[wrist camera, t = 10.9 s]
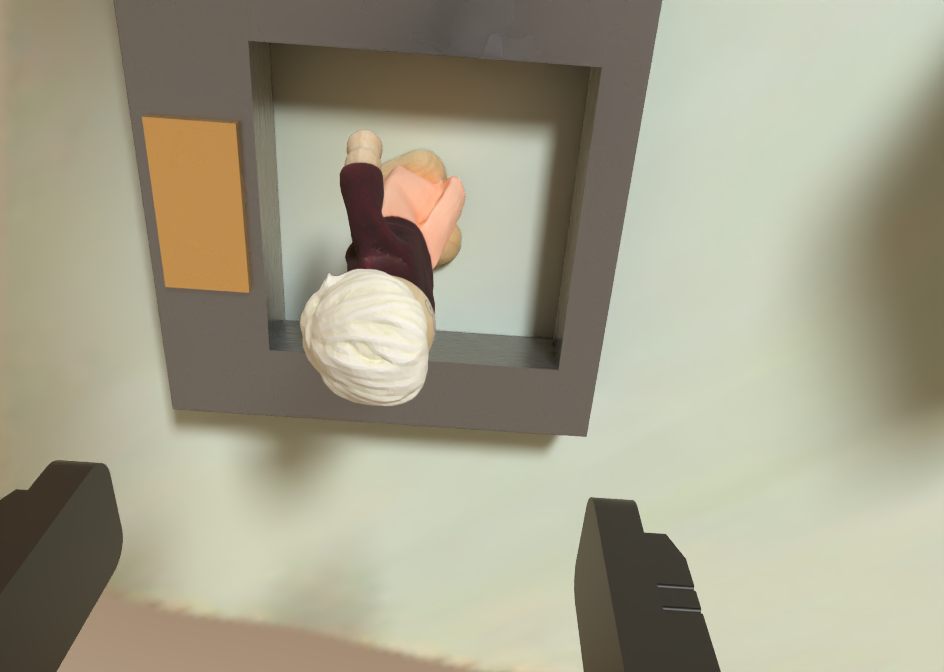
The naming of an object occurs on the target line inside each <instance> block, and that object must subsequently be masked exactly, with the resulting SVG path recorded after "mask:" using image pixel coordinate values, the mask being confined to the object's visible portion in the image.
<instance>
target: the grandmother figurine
mask: <svg viewBox="0 0 944 672" xmlns="http://www.w3.org/2000/svg"><path fill="white" fill-rule="evenodd" d="M347 154H348V156H347V158H346V161H345V166H344V167H343V168H342V170H341V173H340V187H341V193H342V196H343V199H344V203H345V206H346V210H347V214H348V219H349V225H350V230H351V237H352V241H353V242H352V244H351V245H350V246H349V248H348V249H347V252H346V256H345V258H346V262H347V270H348V272H347V273H344V274H342V275H340V276H333V275H331V274H330V273H329V274H327V278H326V279H325V280H324V281H323V283H322V285H321V288H320V289H319V291H317V292H316V293H314V294H313V295H312V296H311V297H310V299H309V300H308V302H307V303H306V305H305V308H304V310H303V312H302V314H301V318H300V327H301V331H302V335H303V348H304V351H305V353H306V356H307V358H308V360H309V361H310V363H311V364H312V365H313V366H314V368H315V369H316V370H317V371H318V372H319V373H320V375H321V377H322V380H323V381H324V383H325V384H326V385H327V386H328V387H329V389H330V390H331V391H333V392H334V393H335V394H337V395H338V396H340V397H342V398H345V399H347V400H350V401H352V402H355V403H360V404H365V405H375V406H395V405H399V404H403V403H405V402H407V401H409V400H412V399H413V398H414V397H415V396H416V395H417V394H418V393H419V391H420V390H421V389H422V387H423V385H424V382H425V379H426V374H427V371H428V355H429V351H430V349H431V346H432V344H433V342H434V338H435V331H436V321H435V315H434V314H435V302H434V297H433V269H434V267H435V266H436V265H437V264H438V265H440V264H445V263H448V262H450V261H451V260H453V259H454V258H455V257H456V256H457V254H458V252H459V250H460V247H461V232H460V229H459V227H458V226H457V224H456V223H457V221H458V219H459V217H460V215H461V212H462V209H463V206H464V201H465V191H464V188H463V185H462V183H461V181H460V179H459V178H457V177H455V176H452V177H450V178H448V179H447V175H446V171H445V168H444V165H443V163H442V161H441V160H440V158H439V157H437V156H436V155H435V154H434V153H432V152H430V151H427V150H414V151H411V152H409V153H406V154H404V155H402V156H400V157H398V158H395V159H393V160H391V161H388V162H386V163H384V164H382V165H381V160H380V158H381V155H382V143H381V140H380V138H379V137H378V136H377V135H376V134H375V133H374V132H372V131H369V130H359V131H356V132H355V133H353V134H352V135H351V136H350V137H349V139H348V143H347Z"/></svg>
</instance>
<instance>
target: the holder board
mask: <svg viewBox="0 0 944 672" xmlns="http://www.w3.org/2000/svg"><path fill="white" fill-rule="evenodd" d="M661 4H662V0H114V6H115V12H116V19H117V26H118V33H119V40H120V47H121V54H122V61H123V68H124V74H125V81H126V88H127V95H128V102H129V109H130V116H131V123H132V130H133V136H134V143H135V150H136V157H137V164H138V171H139V178H140V185H141V192H142V198H143V205H144V212H145V219H146V226H147V233H148V240H149V247H150V254H151V260H152V267H153V274H154V281H155V288H156V295H157V302H158V309H159V316H160V322H161V329H162V336H163V343H164V350H165V357H166V364H167V371H168V378H169V384H170V391H171V398H172V405H173V409H181V410H196V411H211V412H225V413H240V414H255V415H270V416H285V417H300V418H315V419H330V420H345V421H360V422H375V423H389V424H404V425H419V426H434V427H449V428H464V429H479V430H494V431H509V432H524V433H539V434H553V435H568V436H583V437H586V436H587V431H588V425H589V419H590V413H591V408H592V402H593V396H594V390H595V384H596V379H597V373H598V367H599V361H600V356H601V350H602V344H603V338H604V333H605V327H606V321H607V315H608V310H609V304H610V298H611V292H612V286H613V281H614V275H615V269H616V263H617V258H618V252H619V246H620V240H621V235H622V229H623V223H624V217H625V211H626V206H627V200H628V194H629V188H630V183H631V177H632V171H633V165H634V160H635V154H636V148H637V142H638V137H639V131H640V125H641V119H642V113H643V108H644V102H645V96H646V90H647V85H648V79H649V73H650V67H651V62H652V56H653V50H654V44H655V38H656V33H657V27H658V21H659V15H660V10H661ZM270 42H271V43H284V44H297V45H311V46H324V47H337V48H350V49H364V50H377V51H390V52H403V53H417V54H430V55H443V56H456V57H470V58H483V59H496V60H509V61H523V62H536V63H549V64H562V65H576V66H589V67H591V68H590V75H589V82H588V89H587V97H586V104H585V111H584V119H583V126H582V133H581V141H580V148H579V155H578V162H577V170H576V177H575V184H574V192H573V199H572V206H571V213H570V221H569V228H568V235H567V243H566V250H565V257H564V264H563V272H562V279H561V286H560V294H559V301H558V308H557V315H556V323H555V330H554V337H553V339H548V338H534V337H520V336H505V335H491V334H476V333H462V332H447V331H435V338H434V342H433V344H432V346H431V349H430V351H429V355H428V371H427V374H426V379H425V382H424V385H423V387H422V389H421V390H420V391H419V393H418V394H417V395H416V396H415V397H414V398H413V399H412V400H409V401H407V402H405V403H403V404H399V405H395V406H375V405H365V404H360V403H355V402H352V401H350V400H347V399H345V398H342V397H340V396H338V395H337V394H335V393H334V392H333V391H331V390H330V389H329V387H328V386H327V385H326V384H325V383H324V381H323V380H322V377H321V375H320V373H319V372H318V371H317V370H316V369H315V368H314V366H313V365H312V364H311V363H310V361H309V360H308V358H307V356H306V353H305V351H304V348H303V335H302V331H301V327H300V321H288V320H285V307H284V289H283V271H282V253H281V235H280V218H279V200H278V182H277V164H276V146H275V128H274V110H273V92H272V75H271V57H270Z"/></svg>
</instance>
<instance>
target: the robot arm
mask: <svg viewBox="0 0 944 672" xmlns="http://www.w3.org/2000/svg"><path fill="white" fill-rule="evenodd" d="M122 543H123V533H122V527H121V523H120V518H119V513H118V508H117V504H116V499H115V494H114V490H113V485H112V480H111V476H110V472H109V469H108V467H107V466H106V465H105V464H103V463H92V462H77V461H62V460H56V461H53V462H52V463H50V464H49V465H48V466H47V467H46V469H45V470H44V471H43V472H42V473H41V475H40V476H39V477H38V478H37V480H36V481H35V482H34V483H33V484H32V486H31V487H30V488H29V489H28V490H17V489H16V490H15V491H13V492H12V493H10V494H9V495H7V496H6V497H4V498H3V499H1V500H0V672H56V671H57V670H58V668H59V666H60V664H61V663H62V661H63V659H64V658H65V656H66V654H67V652H68V650H69V649H70V647H71V645H72V644H73V642H74V640H75V639H76V637H77V635H78V633H79V632H80V630H81V628H82V626H83V625H84V623H85V621H86V619H87V617H88V616H89V614H90V612H91V611H92V609H93V607H94V606H95V604H96V602H97V601H98V599H99V597H100V595H101V594H102V592H103V590H104V588H105V587H106V585H107V583H108V582H109V580H110V578H111V576H112V575H113V573H114V571H115V569H116V567H117V565H118V562H119V559H120V555H121V550H122ZM574 593H575V605H576V613H577V621H578V629H579V637H580V645H581V653H582V661H583V668H584V672H721V671H720V668H719V665H718V661H717V658H716V655H715V652H714V648H713V645H712V642H711V639H710V636H709V632H708V629H707V626H706V623H705V619H704V616H703V614H701V606H700V603H699V600H698V597H697V594H696V591H694V584H693V581H692V577H691V574H690V571H689V568H688V564H687V561H686V558H685V557H684V556H683V555H682V553H681V552H680V551H679V550H678V549H677V547H676V546H675V545H674V544H673V542H672V541H671V540H670V539H669V537H668V536H667V535H666V534H656V533H644V531H643V527H642V523H641V519H640V515H639V511H638V508H637V505H636V502H635V501H633V500H622V499H607V498H592V497H591V498H589V500H588V503H587V507H586V512H585V517H584V523H583V528H582V533H581V538H580V544H579V549H578V554H577V560H576V566H575V579H574Z"/></svg>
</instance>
